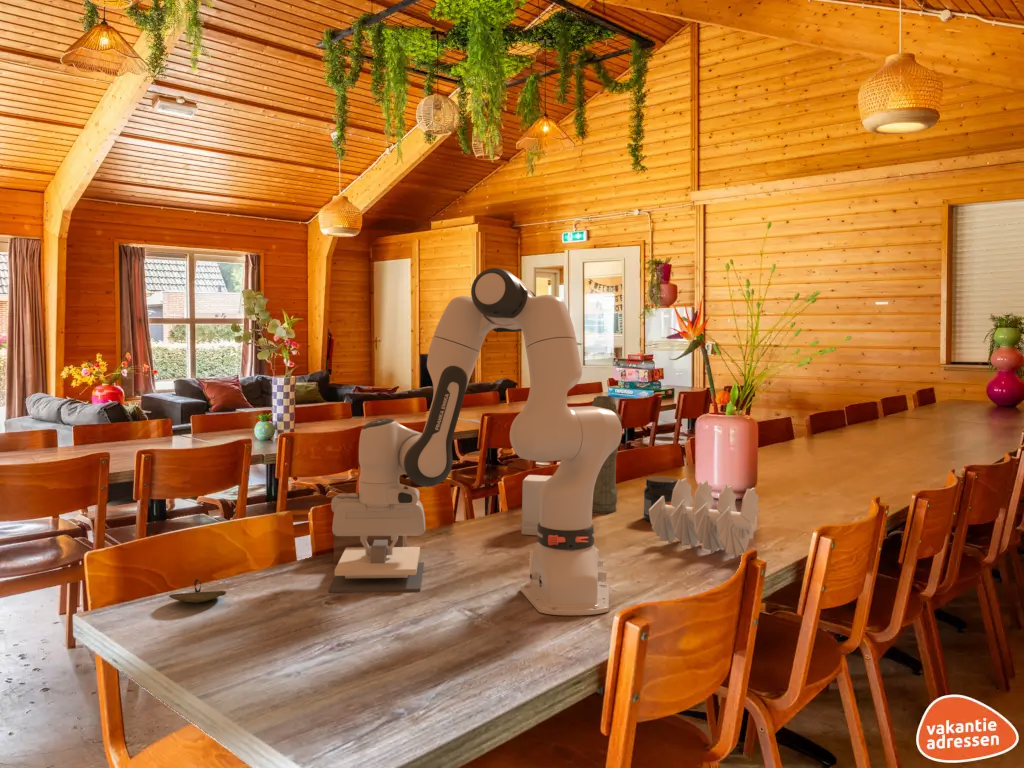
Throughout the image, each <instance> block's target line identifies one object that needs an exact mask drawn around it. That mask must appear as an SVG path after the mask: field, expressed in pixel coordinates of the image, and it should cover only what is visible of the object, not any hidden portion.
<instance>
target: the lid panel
mask: <svg viewBox="0 0 1024 768" xmlns="http://www.w3.org/2000/svg"><path fill="white" fill-rule="evenodd" d="M386 546H388V540H374V542H373V545H372V547H371V555H370V556H366V552H365V547H351V548H346V549H345V551H344V553H343V555H342V557H341V559H340V560H339V562H338V564H336V566H335V568H334V577H335V576H345V578H408V575H416V572H417V566H418V562H419V559H420V554H421V546H406V547H393V555H386Z"/></svg>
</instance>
